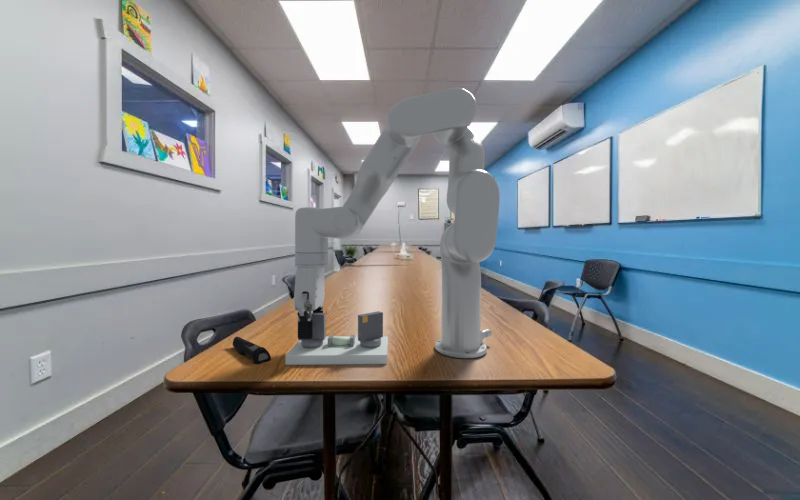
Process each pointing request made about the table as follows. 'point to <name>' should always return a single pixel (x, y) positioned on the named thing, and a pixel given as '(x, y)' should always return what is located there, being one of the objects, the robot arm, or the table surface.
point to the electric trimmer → (251, 350)
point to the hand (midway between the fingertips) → (311, 331)
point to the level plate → (338, 352)
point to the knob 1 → (316, 331)
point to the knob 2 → (370, 329)
